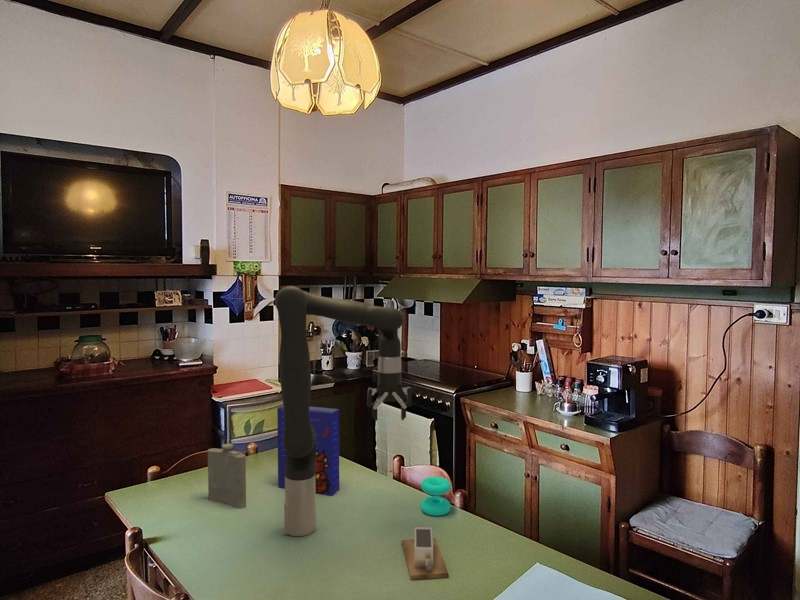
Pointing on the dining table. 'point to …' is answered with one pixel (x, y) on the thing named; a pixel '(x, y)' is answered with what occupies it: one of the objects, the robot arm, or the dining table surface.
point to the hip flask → (227, 476)
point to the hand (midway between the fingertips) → (389, 419)
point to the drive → (422, 546)
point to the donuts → (435, 503)
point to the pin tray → (421, 571)
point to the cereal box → (317, 449)
